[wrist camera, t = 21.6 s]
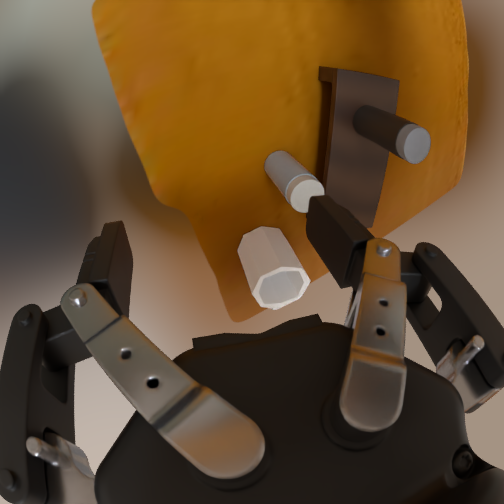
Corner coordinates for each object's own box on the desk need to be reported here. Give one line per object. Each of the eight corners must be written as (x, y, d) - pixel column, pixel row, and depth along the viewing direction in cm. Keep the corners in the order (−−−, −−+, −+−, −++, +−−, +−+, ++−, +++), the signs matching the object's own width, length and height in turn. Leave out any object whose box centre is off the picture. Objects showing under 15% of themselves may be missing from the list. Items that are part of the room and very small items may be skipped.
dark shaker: (354, 103, 30) (407, 124, 23) (381, 106, 31) (434, 129, 24) (350, 135, 33) (399, 164, 26) (377, 136, 34) (426, 165, 26)
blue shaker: (264, 151, 37) (291, 180, 30) (294, 149, 38) (327, 177, 31) (263, 180, 40) (288, 215, 32) (292, 178, 41) (322, 211, 33)
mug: (235, 230, 44) (250, 272, 37) (288, 221, 45) (313, 259, 38) (240, 286, 52) (254, 328, 44) (286, 276, 53) (305, 316, 45)
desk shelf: (319, 66, 31) (337, 68, 27) (378, 75, 33) (399, 80, 29) (305, 217, 46) (318, 235, 42) (357, 212, 48) (372, 227, 44)
